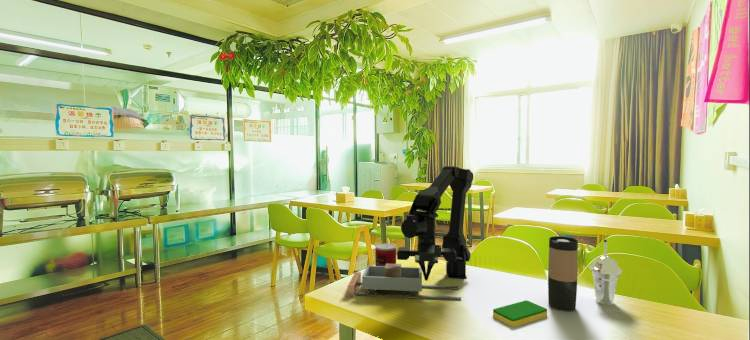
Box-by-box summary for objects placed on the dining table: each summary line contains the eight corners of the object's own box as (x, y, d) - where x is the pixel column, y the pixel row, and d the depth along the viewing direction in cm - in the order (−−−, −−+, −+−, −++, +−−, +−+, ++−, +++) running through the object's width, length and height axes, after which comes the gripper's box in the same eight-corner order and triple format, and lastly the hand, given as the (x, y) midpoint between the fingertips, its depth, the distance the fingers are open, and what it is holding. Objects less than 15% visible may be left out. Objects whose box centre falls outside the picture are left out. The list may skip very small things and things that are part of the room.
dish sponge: (492, 317, 100) (492, 309, 100) (526, 307, 107) (526, 299, 106) (512, 328, 94) (512, 319, 94) (547, 317, 100) (548, 308, 100)
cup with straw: (627, 303, 108) (629, 237, 107) (610, 310, 104) (612, 241, 103) (598, 294, 116) (599, 232, 115) (581, 299, 111) (582, 235, 110)
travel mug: (573, 303, 109) (575, 237, 108) (579, 313, 102) (580, 243, 101) (546, 299, 111) (547, 235, 110) (549, 309, 104) (550, 241, 103)
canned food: (396, 272, 137) (396, 243, 137) (395, 279, 129) (395, 249, 129) (376, 271, 138) (376, 243, 138) (374, 278, 130) (374, 248, 130)
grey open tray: (421, 283, 123) (421, 267, 123) (421, 296, 111) (421, 279, 111) (367, 281, 125) (367, 265, 125) (362, 294, 114) (362, 276, 113)
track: (457, 286, 122) (457, 276, 122) (461, 302, 109) (461, 290, 109) (355, 282, 126) (355, 272, 126) (348, 296, 114) (348, 285, 113)
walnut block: (401, 278, 120) (401, 263, 120) (400, 284, 115) (400, 268, 115) (386, 278, 121) (386, 263, 121) (384, 283, 116) (384, 268, 116)
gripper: (396, 237, 109) (396, 288, 110) (458, 239, 107) (458, 290, 108) (397, 229, 120) (397, 276, 121) (454, 231, 118) (454, 278, 119)
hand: (426, 280), depth 117 cm, fingers closed
